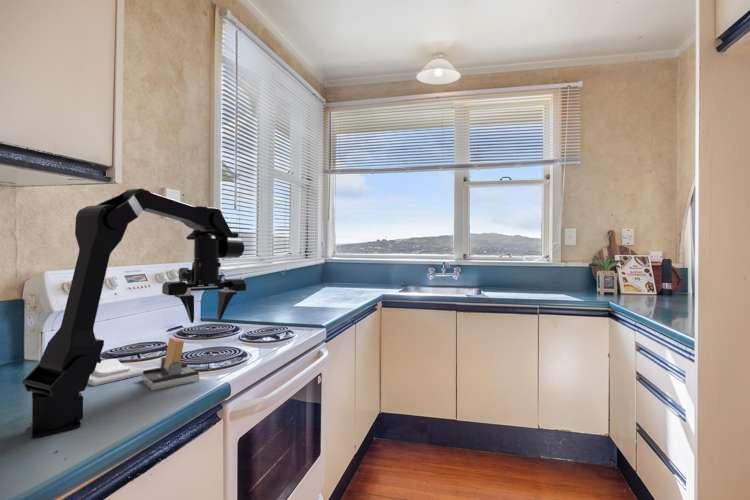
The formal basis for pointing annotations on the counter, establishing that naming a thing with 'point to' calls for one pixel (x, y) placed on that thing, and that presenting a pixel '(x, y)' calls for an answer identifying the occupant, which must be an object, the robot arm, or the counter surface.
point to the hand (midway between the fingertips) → (205, 321)
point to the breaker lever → (173, 352)
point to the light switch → (112, 372)
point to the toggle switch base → (169, 375)
